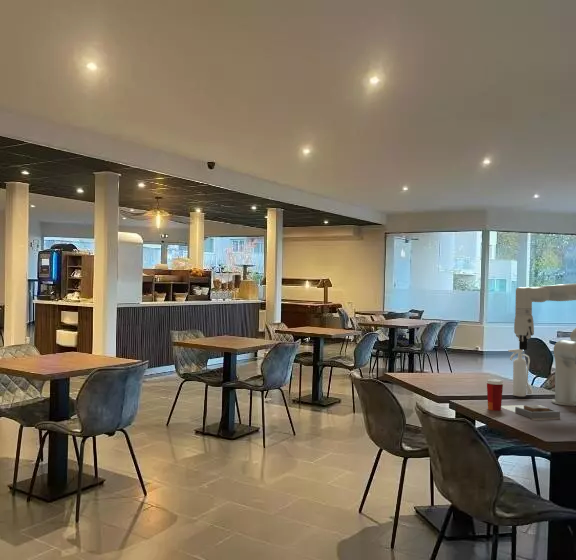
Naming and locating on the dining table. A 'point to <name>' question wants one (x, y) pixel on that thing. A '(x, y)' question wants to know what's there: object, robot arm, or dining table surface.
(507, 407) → the dock bay
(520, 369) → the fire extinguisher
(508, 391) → the dining table surface
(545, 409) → the white wood-edged tile
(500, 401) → the paper cup
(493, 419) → the dining table surface
